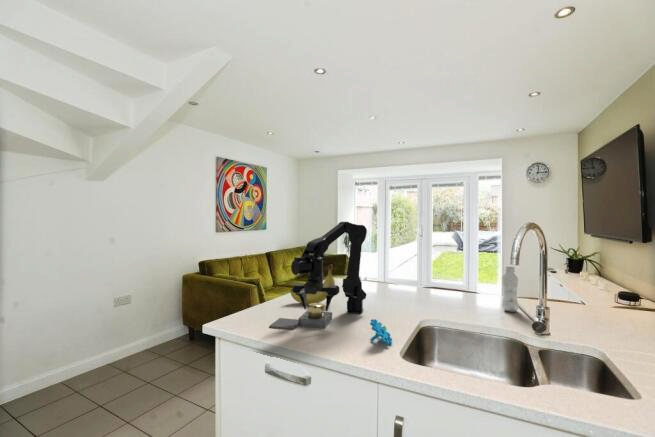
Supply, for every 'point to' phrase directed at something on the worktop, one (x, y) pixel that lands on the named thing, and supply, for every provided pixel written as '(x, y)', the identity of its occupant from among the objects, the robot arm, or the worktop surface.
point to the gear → (380, 332)
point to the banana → (319, 295)
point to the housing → (315, 320)
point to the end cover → (315, 310)
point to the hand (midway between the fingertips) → (315, 310)
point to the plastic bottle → (510, 290)
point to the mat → (285, 323)
